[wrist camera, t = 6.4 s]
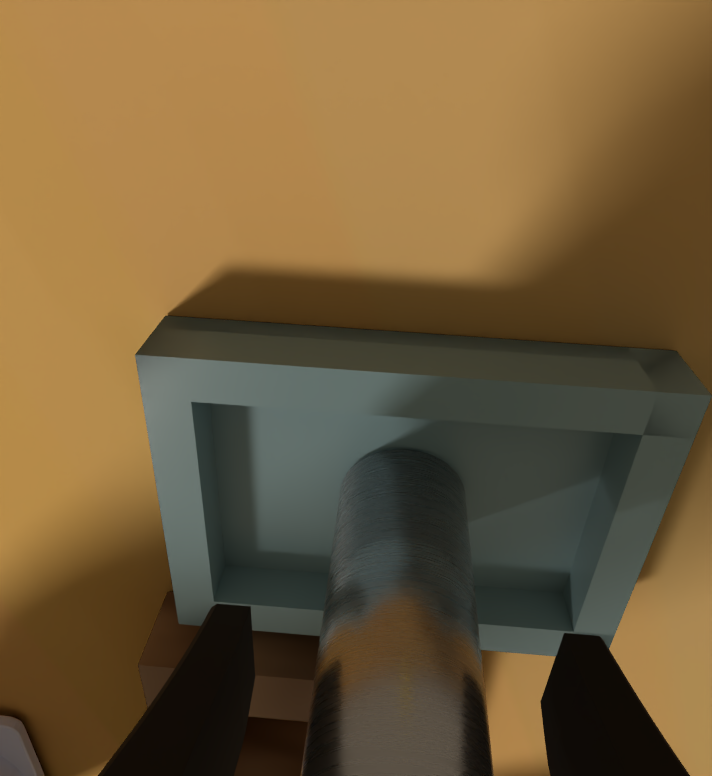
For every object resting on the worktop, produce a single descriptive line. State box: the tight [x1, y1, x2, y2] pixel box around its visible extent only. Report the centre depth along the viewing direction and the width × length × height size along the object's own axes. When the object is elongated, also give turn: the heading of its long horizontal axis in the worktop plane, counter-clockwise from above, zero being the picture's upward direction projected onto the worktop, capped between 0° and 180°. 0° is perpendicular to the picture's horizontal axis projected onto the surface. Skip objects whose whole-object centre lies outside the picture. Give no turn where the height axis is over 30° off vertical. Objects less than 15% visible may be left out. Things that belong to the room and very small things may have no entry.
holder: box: [138, 592, 320, 776], centre depth 19 cm, size 8×8×2 cm
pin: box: [301, 449, 494, 776], centre depth 11 cm, size 3×3×9 cm
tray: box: [135, 316, 712, 656], centre depth 15 cm, size 11×8×2 cm
